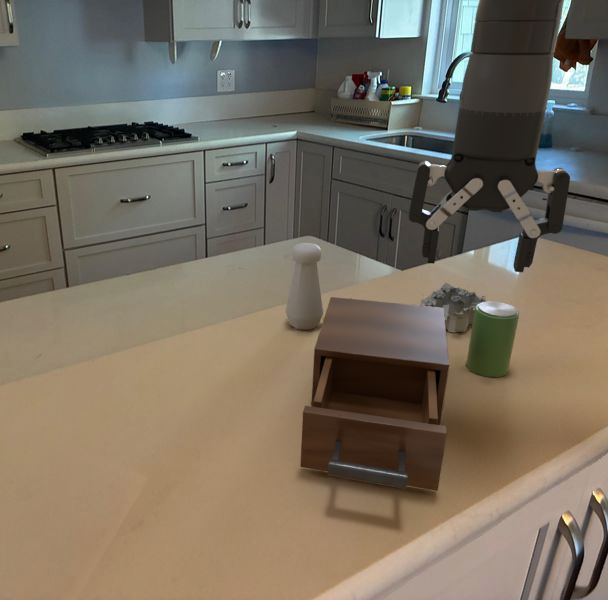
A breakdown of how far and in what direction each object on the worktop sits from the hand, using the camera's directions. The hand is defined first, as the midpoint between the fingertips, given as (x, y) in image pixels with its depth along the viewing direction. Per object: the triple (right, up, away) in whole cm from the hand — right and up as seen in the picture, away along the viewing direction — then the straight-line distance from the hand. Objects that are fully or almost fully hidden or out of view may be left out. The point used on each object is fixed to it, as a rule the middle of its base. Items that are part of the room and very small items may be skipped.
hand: (473, 265), depth 65 cm
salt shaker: (-13, -8, +32) cm, 35 cm away
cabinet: (-6, -15, +14) cm, 22 cm away
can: (+10, -13, +18) cm, 24 cm away
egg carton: (+10, -7, +33) cm, 35 cm away
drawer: (-11, -20, +1) cm, 22 cm away
